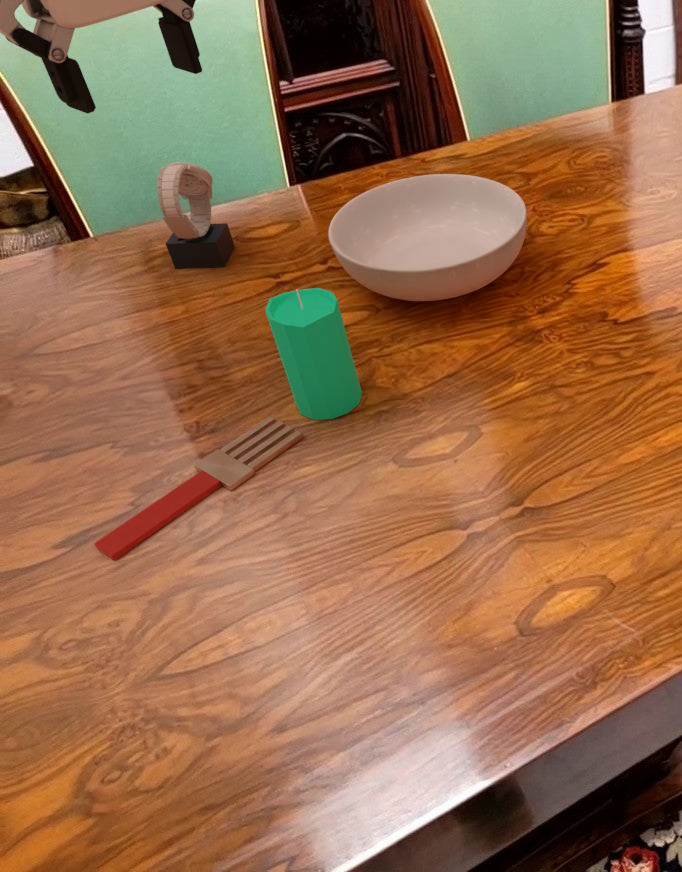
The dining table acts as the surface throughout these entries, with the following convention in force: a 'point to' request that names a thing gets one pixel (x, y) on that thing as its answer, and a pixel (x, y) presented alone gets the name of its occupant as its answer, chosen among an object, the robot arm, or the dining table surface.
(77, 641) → the dining table surface
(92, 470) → the dining table surface
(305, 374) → the candle
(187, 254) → the watch
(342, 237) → the serving bowl
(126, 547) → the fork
